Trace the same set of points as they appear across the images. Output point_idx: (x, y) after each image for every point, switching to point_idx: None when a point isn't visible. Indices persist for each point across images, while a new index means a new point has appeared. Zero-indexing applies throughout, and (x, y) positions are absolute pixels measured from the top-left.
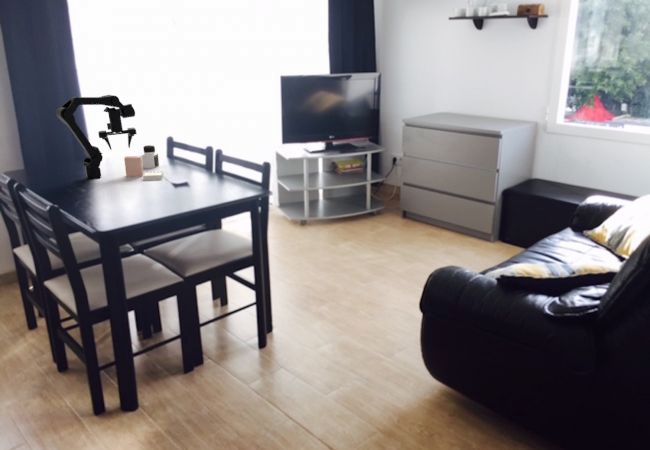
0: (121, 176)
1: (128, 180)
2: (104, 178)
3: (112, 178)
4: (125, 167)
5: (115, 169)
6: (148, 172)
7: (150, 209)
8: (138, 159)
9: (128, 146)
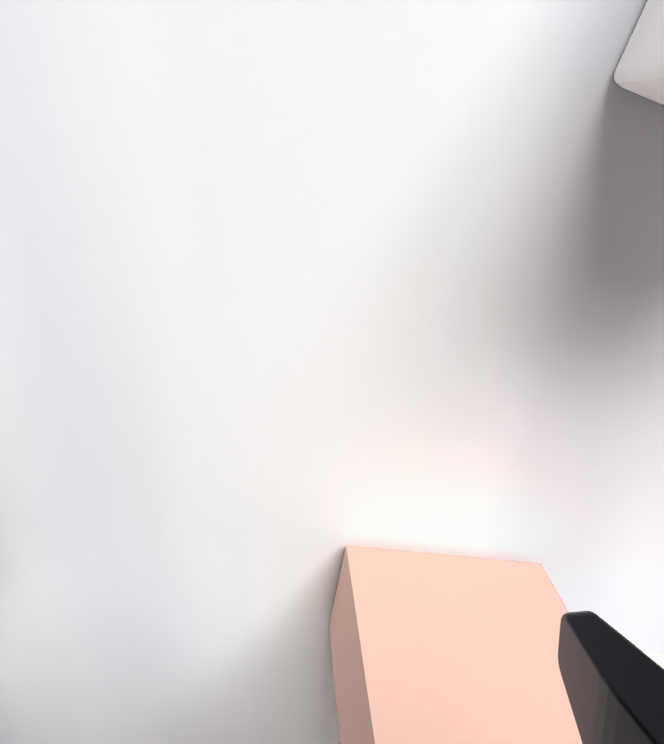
0: (263, 561)
1: None
2: (53, 609)
3: (158, 629)
4: (340, 736)
5: (107, 28)
6: None
7: None
8: None
9: (576, 640)
